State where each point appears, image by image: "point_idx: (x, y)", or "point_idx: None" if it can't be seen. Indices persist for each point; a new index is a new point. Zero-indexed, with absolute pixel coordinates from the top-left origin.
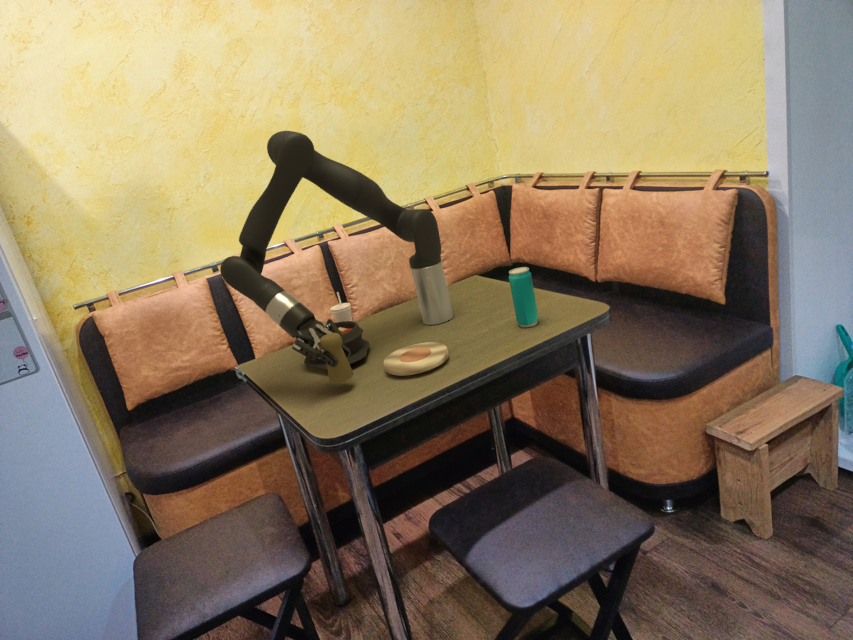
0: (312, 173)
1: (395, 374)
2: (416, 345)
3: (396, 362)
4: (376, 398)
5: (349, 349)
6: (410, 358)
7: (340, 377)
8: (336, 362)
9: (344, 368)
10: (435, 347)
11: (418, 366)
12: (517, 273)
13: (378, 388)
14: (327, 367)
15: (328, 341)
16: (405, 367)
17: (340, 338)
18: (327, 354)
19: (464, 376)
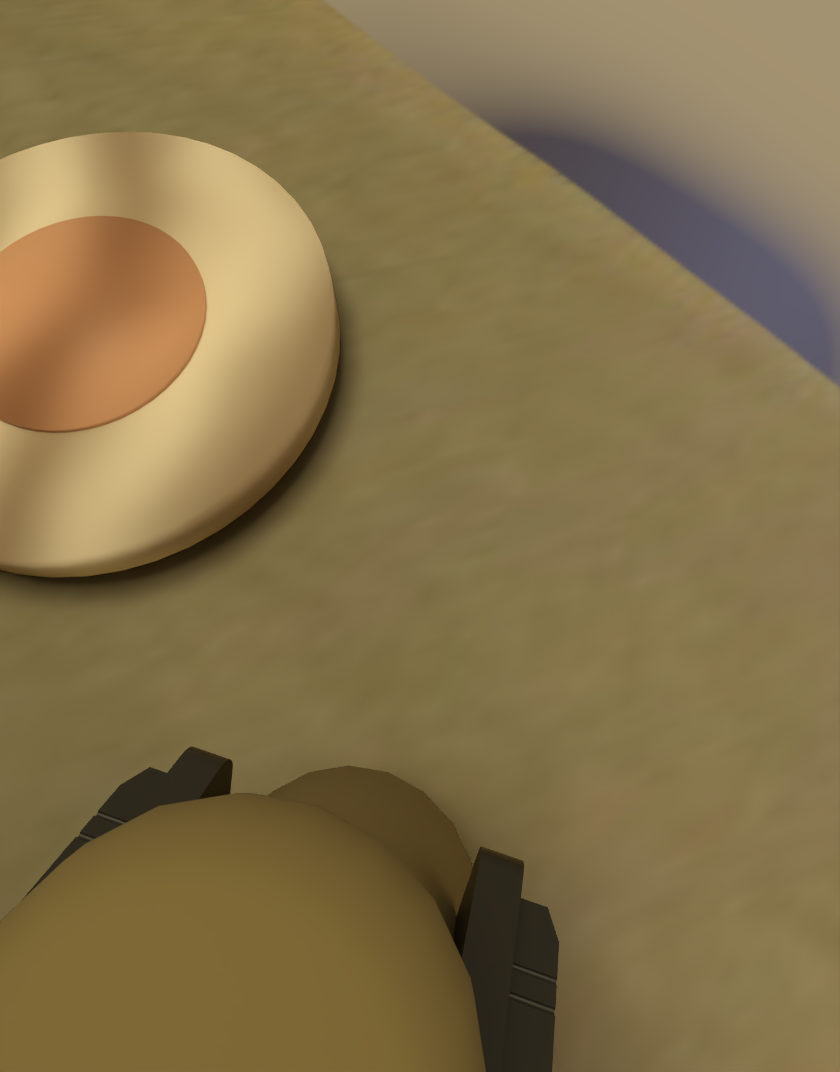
0: None
1: (305, 441)
2: None
3: (162, 433)
4: (606, 523)
5: (130, 779)
6: (145, 332)
7: (465, 864)
8: (522, 863)
9: (411, 811)
10: (5, 210)
11: (318, 251)
12: None
13: (438, 556)
14: None
15: (456, 1057)
16: (300, 337)
17: (231, 797)
18: (499, 1054)
19: (412, 84)
